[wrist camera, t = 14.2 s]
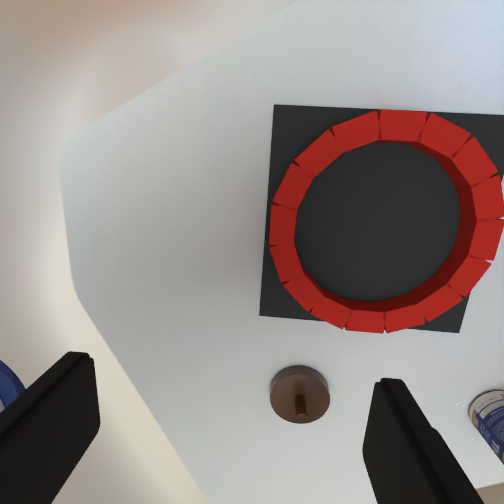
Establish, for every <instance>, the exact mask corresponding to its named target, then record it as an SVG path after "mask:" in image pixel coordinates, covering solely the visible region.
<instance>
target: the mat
mask: <svg viewBox="0 0 504 504" xmlns="http://www.w3.org/2000/svg"><path fill="white" fill-rule="evenodd" d="M375 110H376V111H377V112H378V111H380V110H381V109H359V108H338V107H316V106H295V105H274V114H273V129H272V143H271V157H270V172H269V186H268V200H267V214H266V229H265V243H264V257H263V272H262V286H261V300H260V316H269V317H281V318H292V319H304V320H315V321H324V320H322V319H320V318H318V317H316V316H313V315H311V314H310V312H309V311H308V312H307V311H306V310H305V309H304V308H303V307H302V306H301V305H300V304H299V302H298V301H297V300H296V299H295V298H294V297H293V296H292V295H291V294H290V293H289V292H288V290H287V289H286V288H285V287H284V286H283V282H281V280H280V278H279V275H278V272H277V269H276V266H275V263H274V260H273V257H272V254H271V252H270V249H269V248H270V244H269V234H270V220H271V206H272V202H273V198H274V195H275V193H276V191H277V189H278V187H279V185H280V183H281V181H282V179H283V177H284V175H285V173H286V171H287V169H288V167H289V165H290V164H291V163H293V164H295V162H294V161H293V160H294V159H295V158H296V157H297V156H298V155H299V154H300V153H301V152H302V151H304V150H305V149H306V148H307V147H308V146H309V145H310V144H311V143H312V142H314V141H315V140H316V139H317V138H318V137H319V136H320V135H321V134H322V133H323V132H325V131H326V130H328V129H330V128H331V127H333V126H335V125H338V124H340V123H343V122H346V121H348V120H351V119H354V118H356V117H359V116H362V115H364V114H367V113H370V112H373V111H375ZM429 113H434V114H436V115H437V116H439V117H441V118H443V119H445V120H447V121H449V122H451V123H453V124H455V125H456V126H458V127H460V128H462V129H464V130H466V131H468V132H470V133H471V134H470V136H469V137H473V136H474V137H475V138H476V140H477V141H478V143H479V144H480V145H481V147H482V148H483V150H484V151H485V153H486V154H487V155H488V157H489V158H490V160H491V161H492V163H493V164H494V166H495V167H496V168H497V170H498V171H497V172H496V173H495V174H493V175H500V179H501V182H502V178H503V175H504V115H488V114H467V113H445V112H427V114H429ZM295 165H296V164H295ZM461 217H462V216H461V211H460V205H459V199H458V194H457V188H456V185H455V183H454V182H453V181H452V179H451V178H450V176H449V175H448V174H447V172H446V171H445V170H444V168H443V167H442V166H441V164H440V163H439V161H438V160H437V159H435V158H433V157H431V156H429V155H428V154H426V153H424V152H422V151H420V150H418V149H416V148H414V147H412V146H410V145H408V144H404V143H384V142H372V143H369V144H367V145H364V146H361V147H358V148H355V149H353V150H350V151H347V152H344V153H342V154H341V155H340V156H339V157H337V158H336V159H335V160H334V161H333V162H332V163H331V164H329V165H328V166H327V167H326V168H325V169H324V170H322V171H321V172H320V173H319V174H318V175H317V176H316V177H314V179H313V180H312V182H311V184H310V186H309V188H308V190H307V192H306V194H305V196H304V198H303V199H302V201H301V203H300V205H299V207H298V209H297V215H296V225H295V236H294V244H295V247H296V250H297V253H298V256H299V259H300V262H301V265H302V267H303V268H304V269H305V270H306V271H307V272H308V274H309V275H310V276H311V277H312V278H313V279H314V280H315V281H316V283H317V284H318V285H319V286H320V287H321V288H323V289H325V290H327V291H329V292H331V293H333V294H336V295H338V296H340V297H342V298H344V299H346V300H352V301H365V302H380V301H384V300H387V299H391V298H395V297H399V296H402V295H406V294H408V293H410V292H411V291H413V290H414V289H416V288H417V287H419V286H420V285H421V284H423V283H424V282H426V281H427V280H429V279H430V278H432V277H433V276H435V274H436V273H437V272H438V270H439V269H440V267H441V266H442V265H443V263H444V262H445V261H446V259H447V258H448V256H449V255H450V254H451V252H452V251H453V249H454V245H455V241H456V237H457V233H458V229H459V225H460V221H461ZM470 292H471V291H470ZM458 294H459V293H458ZM459 295H460V296H461V298H462V299H463V300H462V301H461V302H459V303H458V304H456V305H455V306H453V307H451V308H450V309H448V310H447V311H445V312H444V313H442V314H441V315H439V316H437V317H436V318H434V319H433V320H431V321H430V322H428V321H427V320H426V319H425V318H424V320H425V324H422V325H418V326H414V327H410V328H406V329H418V330H429V331H441V332H452V333H459V331H460V327H461V324H462V320H463V317H464V313H465V310H466V306H467V302H468V299H469V295H470V293H469V294H468V295H467V296H466V297H465V296H463V295H461V294H459Z"/></svg>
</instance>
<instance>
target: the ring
mask: <svg viewBox="0 0 504 504" xmlns="http://www.w3.org/2000/svg"><path fill="white" fill-rule="evenodd" d="M470 134H471V133H470V132H468V131H466V130H464V129H462V128H460V127H458V126H456V125H455V124H453V123H451V122H449V121H447V120H445V119H443V118H441V117H439V116H437V115H436V114H434V113H429V114H427V112H426V111H406V110H383V109H382V110H380V111H378V112H377V111H376V110H375V111H373V112H370V113H367V114H364V115H362V116H359V117H356V118H354V119H351V120H348V121H346V122H343V123H340V124H338V125H335V126H333V127H331V128H330V129H328V130H326V131H325V132H323V133H322V134H321V135H320V136H319V137H318V138H317V139H316V140H315V141H314V142H312V143H311V144H310V145H309V146H308V147H307V148H306V149H305V150H304V151H302V152H301V153H300V154H299V155H298V156H297V157H296V158H295V159H294V160H293V161H294V162H295V164H296V165H295V164H293V163H291V164H290V165H289V167H288V169H287V171H286V173H285V175H284V177H283V179H282V181H281V183H280V185H279V187H278V189H277V191H276V193H275V195H274V198H273V202H272V206H271V220H270V234H269V244H270V248H269V249H270V252H271V254H272V257H273V260H274V263H275V266H276V269H277V272H278V275H279V278H280V280H281V282H283V286H284V287H285V288H286V289H287V290H288V292H289V293H290V294H291V295H292V296H293V297H294V298H295V299H296V300H297V301H298V302H299V304H300V305H301V306H302V307H303V308H304V309H305V310H306V311H307V312H308V311H309V312H310V314H311V315H313V316H316V317H318V318H320V319H322V320H324V321H326V322H328V323H330V324H332V325H334V326H337V327H339V328H341V329H343V328H344V327H345V329H346V330H349V331H361V332H372V333H383V332H384V330H385V331H386V333H390V332H394V331H398V330H402V329H406V328H410V327H414V326H418V325H422V324H425V320H424V318H425V319H426V320H427V321H428V322H430V321H431V320H433V319H434V318H436V317H437V316H439V315H441V314H442V313H444V312H445V311H447V310H448V309H450V308H451V307H453V306H455V305H456V304H458V303H459V302H461V301H462V300H463V299H462V298H461V296H460V295H459V294H461V295H463V296H465V297H466V296H467V295H468V294H469V293H470V291H471V290H472V289H473V287H474V286H475V285H476V284H477V282H478V281H479V280H480V278H481V277H482V276H483V274H484V273H485V272H486V271H487V269H488V268H489V267H490V265H491V263H489V262H487V261H485V260H494V258H495V254H496V251H497V248H498V244H499V241H500V237H501V234H502V231H503V227H504V220H503V219H499V218H501V217H504V201H503V193H502V186H501V179H500V175H493V174H495V173H496V172H497V171H498V170H497V168H496V167H495V166H494V164H493V163H492V161H491V160H490V158H489V157H488V155H487V154H486V153H485V151H484V150H483V148H482V147H481V145H480V144H479V143H478V141H477V140H476V138H475V137H474V136H473V137H469V136H470ZM372 142H384V143H404V144H408V145H410V146H412V147H414V148H416V149H418V150H420V151H422V152H424V153H426V154H428V155H429V156H431V157H433V158H435V159H437V160H438V161H439V163H440V164H441V166H442V167H443V168H444V170H445V171H446V172H447V174H448V175H449V176H450V178H451V179H452V181H453V182H454V183H455V185H456V188H457V194H458V199H459V205H460V211H461V216H462V217H461V221H460V225H459V229H458V233H457V237H456V241H455V245H454V249H453V251H452V252H451V254H450V255H449V256H448V258H447V259H446V261H445V262H444V263H443V265H442V266H441V267H440V269H439V270H438V272H437V273H436V274H435V276H433V277H432V278H430V279H429V280H427V281H426V282H424V283H423V284H421V285H420V286H419V287H417V288H416V289H414V290H413V291H411V292H410V293H408V294H406V295H402V296H399V297H395V298H391V299H387V300H384V301H380V302H365V301H352V300H346V299H344V298H342V297H340V296H338V295H336V294H333V293H331V292H329V291H327V290H325V289H323V288H321V287H320V286H319V285H318V284H317V283H316V281H315V280H314V279H313V278H312V277H311V276H310V275H309V274H308V272H307V271H306V270H305V269H304V268H303V267H302V265H301V262H300V259H299V256H298V253H297V250H296V247H295V244H294V236H295V225H296V215H297V209H298V207H299V205H300V203H301V201H302V199H303V198H304V196H305V194H306V192H307V190H308V188H309V186H310V184H311V182H312V180H313V179H314V177H316V176H317V175H318V174H319V173H320V172H321V171H322V170H324V169H325V168H326V167H327V166H328V165H329V164H331V163H332V162H333V161H334V160H335V159H336V158H337V157H339V156H340V155H341V154H342V153H344V152H347V151H350V150H353V149H355V148H358V147H361V146H364V145H367V144H369V143H372ZM458 293H459V294H458Z"/></svg>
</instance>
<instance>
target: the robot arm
mask: <svg viewBox="0 0 504 504" xmlns="http://www.w3.org/2000/svg"><path fill="white" fill-rule="evenodd" d="M96 386H97V385H96V377H95V367H94V360H93V358H90V356H89V354H88V353H83V352H72V351H71V352H68V353H66V354H65V355H64V356H63V357H62V358H61V359H60V360H58V361H57V362H56V363H55V364H54V365H53V366H52V367H51V368H49V369H48V370H47V371H46V372H45V373H44V374H43V375H42V376H40V377H39V378H38V379H37V380H36V381H35V382H34V383H33V384H32V385H30V386H29V387H28V388H27V389H26V390H25V391H24V392H23V393H21V394H20V395H19V396H18V397H17V398H16V399H15V400H14V401H13V402H11V403H10V404H9V405H8V406H7V407H6V408H4V405H3V402H2V400H1V398H0V504H51V503H52V502H53V500H54V499H55V497H56V495H57V494H58V492H59V491H60V489H61V488H62V486H63V485H64V483H65V482H66V480H67V478H68V477H69V476H70V474H71V473H72V471H73V470H74V468H75V467H76V465H77V464H78V462H79V461H80V459H81V458H82V456H83V455H84V453H85V451H86V450H87V448H88V447H89V445H90V444H91V442H92V441H93V439H94V438H95V436H96V435H97V433H98V430H99V427H100V414H99V406H98V405H99V404H98V395H97V387H96ZM363 459H364V462H365V466H366V469H367V472H368V475H369V478H370V481H371V485H372V488H373V491H374V494H375V497H376V500H377V503H378V504H484V503H483V501H482V499H481V498H480V496H479V495H478V493H477V491H476V490H475V488H474V487H473V485H472V484H471V482H470V480H469V479H468V477H467V476H466V474H465V473H464V471H463V469H462V468H461V466H460V465H459V463H458V462H457V460H456V458H455V457H454V455H453V454H452V452H451V451H450V449H449V447H448V446H447V444H446V443H445V441H444V440H443V438H442V436H441V435H440V434H439V432H438V431H437V430H436V429H434V428H432V427H431V425H430V423H429V422H428V420H427V419H426V417H425V415H424V414H423V412H422V411H421V409H420V407H419V406H418V404H417V403H416V401H415V399H414V398H413V396H412V394H411V393H410V391H409V390H408V388H407V386H406V385H405V383H404V382H403V381H402V380H401V379H392V378H382V379H381V380H380V382H376V383H375V386H374V391H373V396H372V401H371V406H370V411H369V417H368V422H367V427H366V432H365V437H364V442H363Z"/></svg>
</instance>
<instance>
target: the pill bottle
mask: <svg viewBox="0 0 504 504" xmlns="http://www.w3.org/2000/svg"><path fill="white" fill-rule="evenodd" d="M469 416H470V420H471V422H472V423H473V425H474V426H475V428H476V429H477V430H478V431H479V433H480V434H481V435H482V437H483V438H484V439H485V441H486V442H487V443H488V445H489V446H490V447H491V449H492V450H493V451H494V453H495V454H496V455H497V457H498V458H499V459H500V460H501V462H502V463H503V464H504V391H492V392H489V393H486V394H483V395H482V396H480V397H479V398H477V399H476V400H475V401H474V402H473V404H472V405H471V407H470V411H469Z"/></svg>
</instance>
